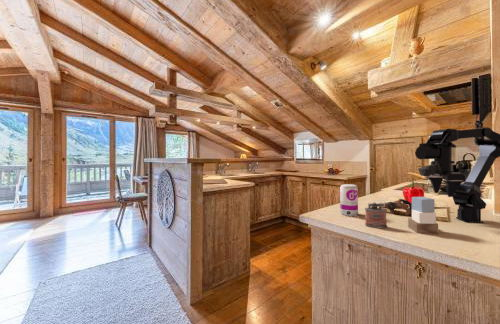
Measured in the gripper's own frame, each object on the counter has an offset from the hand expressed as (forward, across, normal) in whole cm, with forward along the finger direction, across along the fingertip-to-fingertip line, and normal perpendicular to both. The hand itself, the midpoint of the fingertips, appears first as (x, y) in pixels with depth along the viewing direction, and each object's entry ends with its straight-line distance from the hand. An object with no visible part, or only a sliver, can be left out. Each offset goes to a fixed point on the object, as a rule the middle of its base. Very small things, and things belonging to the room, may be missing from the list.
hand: (442, 194), depth 95 cm
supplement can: (+12, -9, -36) cm, 39 cm away
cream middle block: (+8, +12, -13) cm, 20 cm away
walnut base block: (+12, +12, -13) cm, 21 cm away
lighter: (+12, +9, -29) cm, 33 cm away
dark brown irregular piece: (+12, -14, -12) cm, 22 cm away
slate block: (+4, +12, -13) cm, 18 cm away
